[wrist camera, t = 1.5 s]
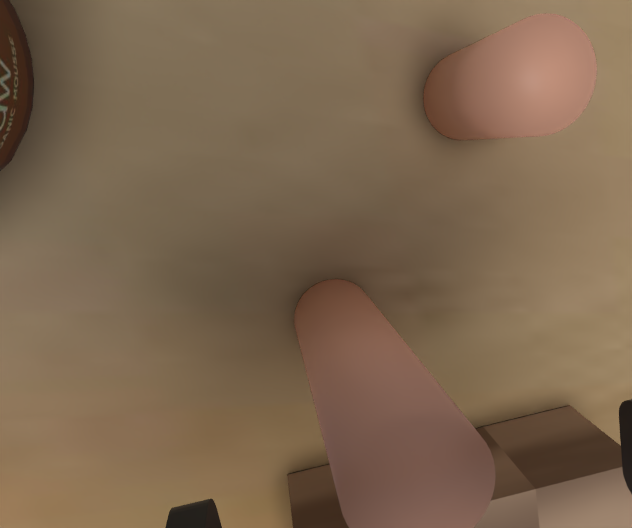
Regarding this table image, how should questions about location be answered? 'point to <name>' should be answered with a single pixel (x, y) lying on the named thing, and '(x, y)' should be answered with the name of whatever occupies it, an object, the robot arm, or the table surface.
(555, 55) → the short dowel
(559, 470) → the walnut block
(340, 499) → the long dowel
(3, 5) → the food container
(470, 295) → the table surface
